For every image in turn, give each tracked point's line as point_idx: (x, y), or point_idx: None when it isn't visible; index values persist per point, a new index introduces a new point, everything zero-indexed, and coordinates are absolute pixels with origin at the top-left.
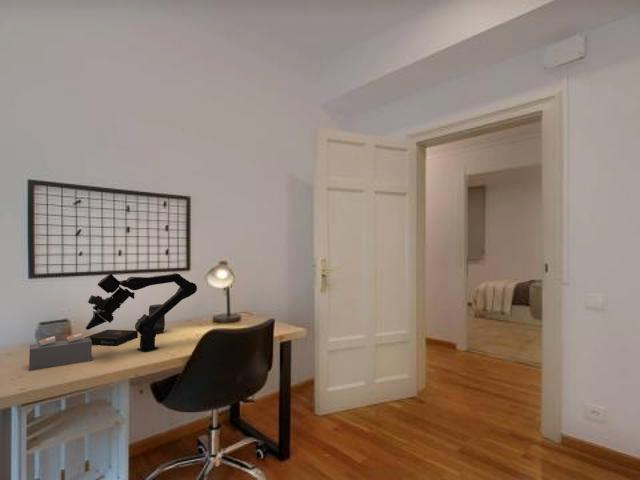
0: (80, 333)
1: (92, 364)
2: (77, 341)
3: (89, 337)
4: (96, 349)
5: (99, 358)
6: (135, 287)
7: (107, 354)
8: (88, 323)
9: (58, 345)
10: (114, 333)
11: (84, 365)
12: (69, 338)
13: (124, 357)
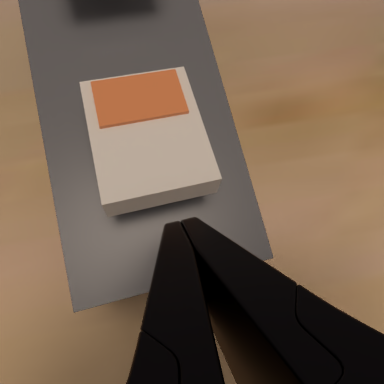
0: (211, 171)
1: (9, 313)
2: None
3: (268, 257)
4: (371, 278)
5: None
6: None
7: (226, 373)
8: (241, 252)
9: (37, 45)
10: None
11: (11, 266)
12: (89, 93)
13: None
